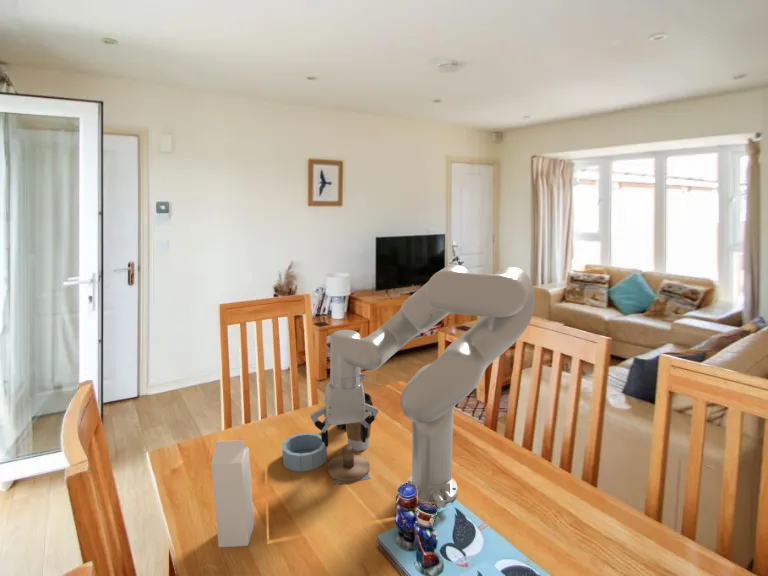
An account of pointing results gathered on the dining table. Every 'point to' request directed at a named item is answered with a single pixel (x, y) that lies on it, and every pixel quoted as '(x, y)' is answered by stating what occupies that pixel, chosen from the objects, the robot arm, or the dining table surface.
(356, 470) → the lid
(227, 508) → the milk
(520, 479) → the dining table surface
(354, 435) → the coffee cup
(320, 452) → the bowl
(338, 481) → the mat
